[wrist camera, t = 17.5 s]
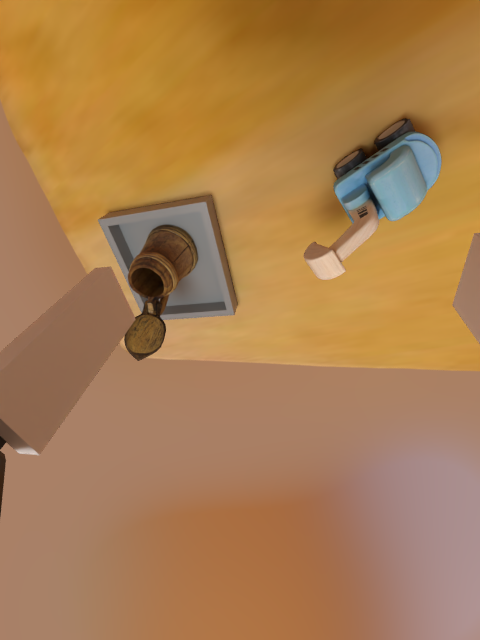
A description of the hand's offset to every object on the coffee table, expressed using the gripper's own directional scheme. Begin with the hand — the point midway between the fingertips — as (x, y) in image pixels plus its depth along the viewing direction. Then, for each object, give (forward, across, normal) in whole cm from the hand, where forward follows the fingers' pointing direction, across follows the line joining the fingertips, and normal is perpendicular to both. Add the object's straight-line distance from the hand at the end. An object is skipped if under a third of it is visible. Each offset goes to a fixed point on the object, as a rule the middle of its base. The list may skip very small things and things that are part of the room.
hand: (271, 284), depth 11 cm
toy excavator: (+36, +9, -6) cm, 38 cm away
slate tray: (+36, -21, -15) cm, 44 cm away
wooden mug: (+35, -21, -15) cm, 44 cm away
